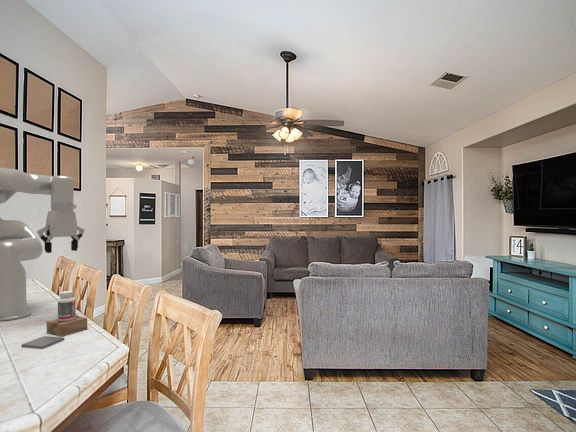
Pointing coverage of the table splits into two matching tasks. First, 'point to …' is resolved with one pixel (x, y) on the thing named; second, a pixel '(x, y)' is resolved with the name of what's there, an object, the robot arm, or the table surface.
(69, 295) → the pill bottle
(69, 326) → the walnut block
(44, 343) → the slate coaster
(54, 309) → the table surface
